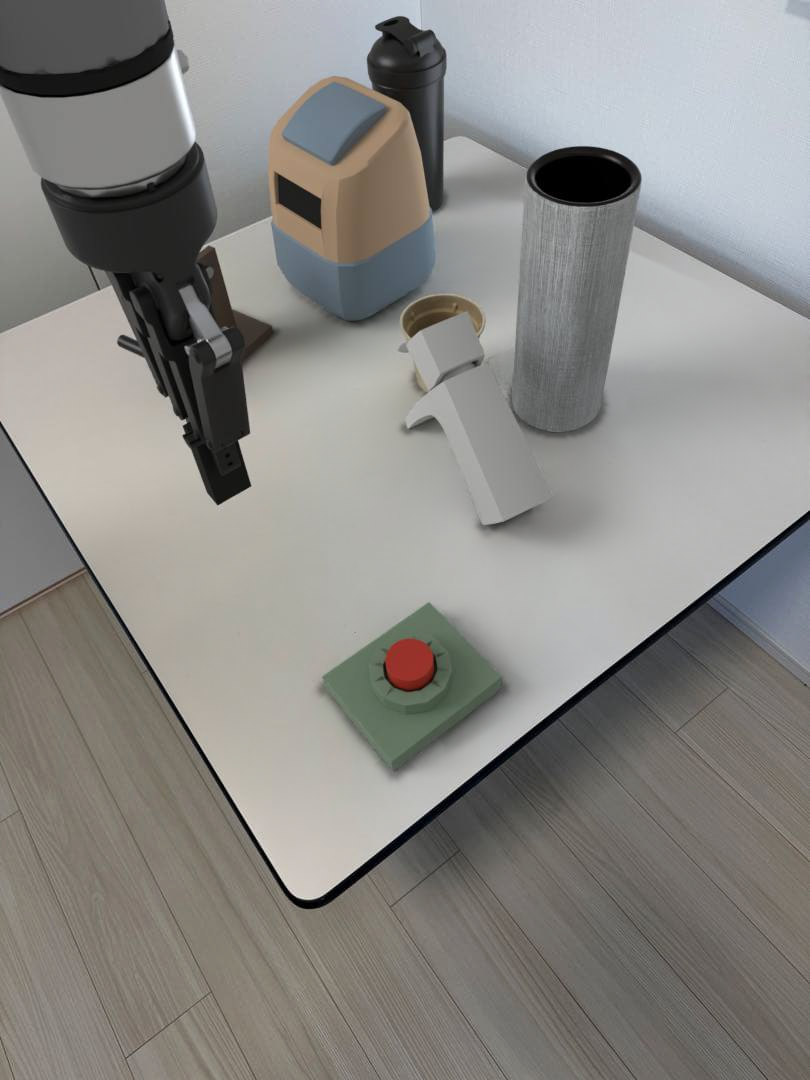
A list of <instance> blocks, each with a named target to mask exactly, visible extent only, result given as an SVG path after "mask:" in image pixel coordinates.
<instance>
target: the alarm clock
mask: <svg viewBox="0 0 810 1080" xmlns="http://www.w3.org/2000/svg"><path fill="white" fill-rule="evenodd" d="M267 179H268V189H269V197H270V208H271V209H270V210H271V218H272V219H271V223H270V226H271V232H272V238H273V239H272V240H273V245H274V252H275V256H276V257H275V258H276V263H277V264H276V265H277V266H278V268H279V270H280V271H281V273H282V274H283V276H284V278H285V279H286V281H287V282H288V283H289V285H291V286H292V287H294V288H295V289H296V290H298V291H299V292H300V293H302V294H304V296H306V297H308V298H309V299H311V300H312V301H313V302H315V303H316V304H318V305H320V307H322V308H323V309H325V310H326V311H328V312H329V313H331V314H333V315H334V316H335V317H337V318H338V319H342V320H343V321H344V320H345V321H362V320H364V319H367V318H370V317H372V316H374V315H375V314H377V313H379V312H380V311H382V310H384V309H385V308H387V307H388V306H390V305H391V304H393V303H395V302H396V301H398V300H399V299H401V298H403V297H404V296H406V295H408V294H409V293H411V292H412V291H415V290H416V289H418V288H419V287H420V286H421V284H422V283H423V282H424V281H425V280H426V279H428V277H430V275H431V274H432V272H433V268H434V265H435V263H436V242H435V241H436V240H435V231H434V217H433V212H432V209H431V208H430V207H429V201H428V195H427V188H426V182H425V176H424V169H423V163H422V157H421V152H420V148H419V144H418V141H417V137H416V134H415V130H414V127H413V123H412V120H411V116H410V113H409V111H408V110H407V109H406V108H405V107H404V106H403V105H402V104H401V103H400V102H398V101H396V100H394V99H392V98H389V97H387V96H385V95H383V94H381V93H379V92H377V91H374V90H372V88H370V87H368V86H366V85H363V84H361V83H359V82H358V81H355V80H353V79H351V78H348V77H345V76H339V75H338V76H337V75H332V76H329V77H328V76H327V77H325V78H323V79H320V80H318V81H317V82H316V83H314V84H313V85H311V86H310V87H308V88H307V90H306V91H304V93H303V94H302V95H301V96H300V97H299V98H298V99H296V101H295V102H294V103H293V104H292V105H291V106H290V107H289V108H288V109H287V110H286V111H285V112H284V113H283V115H281V116H280V118H279V119H278V120H277V122H276V123H275V125H274V126H273V127H272V129H271V132H270V137H269V142H268V163H267Z"/></svg>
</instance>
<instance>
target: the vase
mask: <svg viewBox="0 0 810 1080" xmlns="http://www.w3.org/2000/svg"><path fill="white" fill-rule="evenodd" d="M642 181H643V178H642V172H641V170H640V169H639V167H638V166H637V164H636V163H635V162H634V161H633V160H632V159H630V158H629V157H628V156H626V155H624V154H623V153H621V152H618V151H615V150H612V149H609V148H605V147H600V146H592V145H572V146H566V147H561V148H560V147H559V148H556V149H553V150H550V151H548V152H546V153H544V154H541V155H540V156H539V157H537V158H536V159H535V160H534V161H532V162H531V163H530V165H529V166H528V168H527V170H526V172H525V178H524V192H523V208H522V209H523V210H522V222H521V223H522V226H521V241H520V242H521V243H520V255H519V256H520V257H519V258H520V259H519V271H518V272H519V275H518V290H517V306H516V307H517V308H516V322H515V323H516V324H515V338H514V353H513V355H514V357H513V369H512V370H513V371H512V385H511V386H512V387H511V388H512V389H511V402H512V407H513V409H514V412H515V413H516V415H517V416H518V417H519V418H520V419H521V420H522V421H523V422H525V423H526V424H527V425H529V426H531V427H533V428H535V429H538V430H542V431H545V432H553V433H565V432H572V431H576V430H579V429H581V428H584V427H585V426H588V425H589V424H590V423H591V422H592V421H593V420H594V419H595V418H596V417H597V415H598V414H599V412H600V409H601V406H602V402H603V396H604V392H605V386H606V382H607V381H606V380H607V375H608V370H609V365H610V360H611V359H610V358H611V355H612V354H611V353H612V347H613V342H614V336H615V332H616V325H617V321H618V315H619V310H620V304H621V303H620V302H621V299H622V292H623V288H624V282H625V276H626V272H627V265H628V260H629V254H630V250H631V249H630V248H631V243H632V238H633V231H634V226H635V222H636V216H637V212H638V211H637V209H638V206H639V205H638V204H639V199H640V194H641V188H642Z"/></svg>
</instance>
